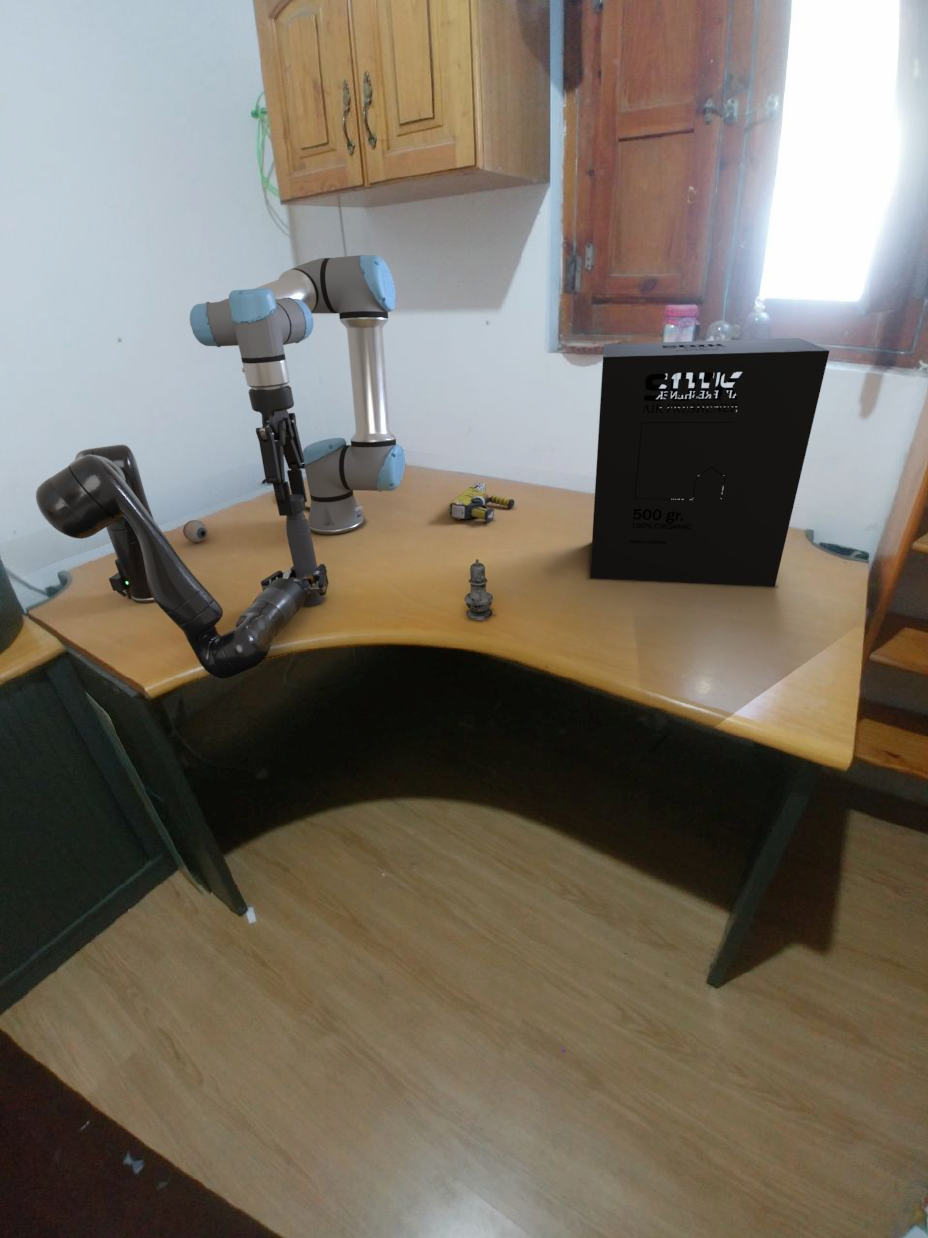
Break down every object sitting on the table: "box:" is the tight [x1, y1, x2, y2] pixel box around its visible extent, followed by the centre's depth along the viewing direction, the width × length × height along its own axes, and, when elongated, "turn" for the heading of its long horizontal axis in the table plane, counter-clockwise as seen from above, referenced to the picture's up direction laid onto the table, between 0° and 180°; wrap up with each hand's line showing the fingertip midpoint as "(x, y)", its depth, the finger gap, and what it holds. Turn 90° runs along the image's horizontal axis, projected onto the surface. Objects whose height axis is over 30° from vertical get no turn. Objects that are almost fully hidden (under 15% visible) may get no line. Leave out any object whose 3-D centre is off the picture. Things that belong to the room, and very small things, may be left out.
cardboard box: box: [589, 337, 830, 587], centre depth 126 cm, size 38×20×45 cm, turn 78°
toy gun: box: [448, 481, 515, 523], centre depth 173 cm, size 5×24×15 cm
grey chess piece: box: [463, 559, 494, 621], centre depth 118 cm, size 6×6×12 cm
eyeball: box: [182, 519, 208, 544], centre depth 162 cm, size 6×6×6 cm
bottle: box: [285, 511, 324, 607], centre depth 125 cm, size 5×5×22 cm
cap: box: [290, 493, 307, 513], centre depth 119 cm, size 5×5×2 cm
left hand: (311, 567), depth 129 cm, fingers closed on bottle, 4 cm apart
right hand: (293, 508), depth 120 cm, fingers open, 7 cm apart
